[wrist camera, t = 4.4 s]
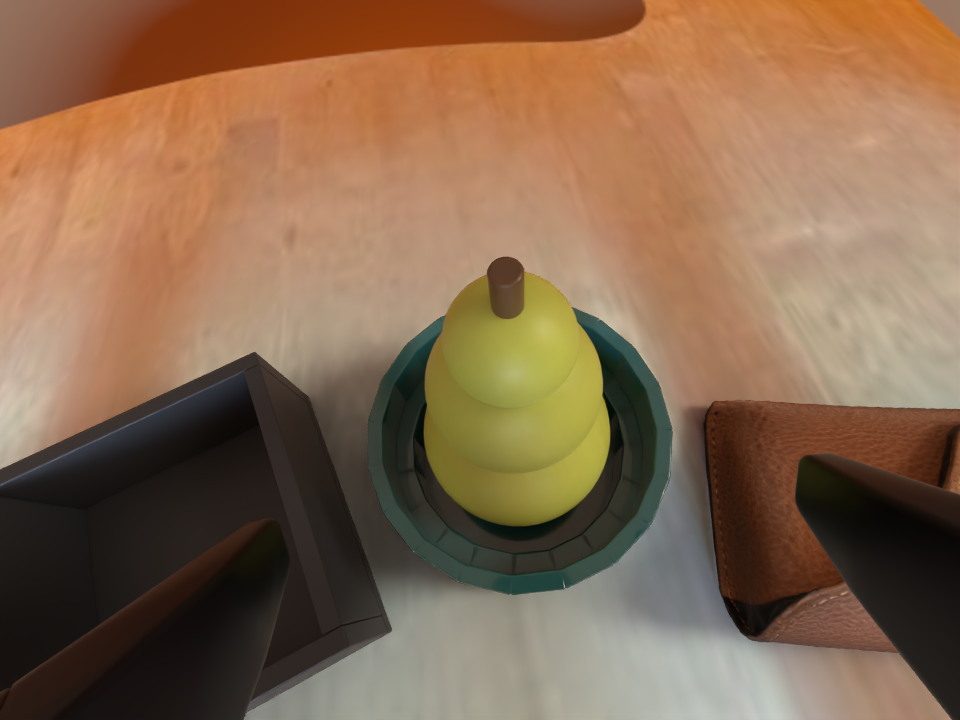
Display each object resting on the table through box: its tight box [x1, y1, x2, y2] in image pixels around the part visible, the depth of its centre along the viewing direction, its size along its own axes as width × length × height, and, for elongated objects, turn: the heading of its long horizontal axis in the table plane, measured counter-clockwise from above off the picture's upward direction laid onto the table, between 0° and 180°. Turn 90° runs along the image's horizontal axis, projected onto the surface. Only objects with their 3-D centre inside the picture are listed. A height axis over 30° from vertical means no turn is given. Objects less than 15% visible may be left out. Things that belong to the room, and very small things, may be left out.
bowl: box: [368, 307, 673, 595], centre depth 17 cm, size 10×10×4 cm
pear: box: [424, 257, 610, 526], centre depth 13 cm, size 6×6×12 cm
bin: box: [0, 352, 392, 713], centre depth 16 cm, size 10×10×5 cm
